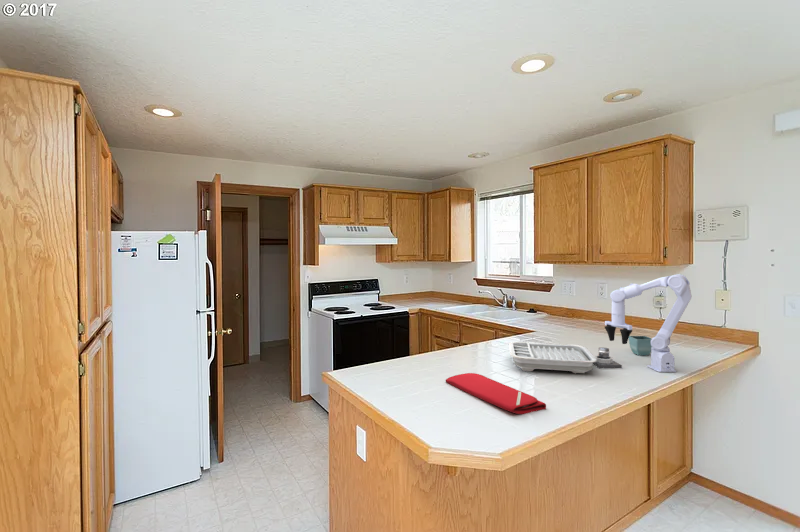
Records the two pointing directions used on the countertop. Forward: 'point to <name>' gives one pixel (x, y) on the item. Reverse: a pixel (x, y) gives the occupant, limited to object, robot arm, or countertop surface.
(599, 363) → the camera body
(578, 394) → the countertop surface
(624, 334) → the robot arm
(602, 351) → the lens
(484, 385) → the red folded towel
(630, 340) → the flower pot
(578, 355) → the dish rack
